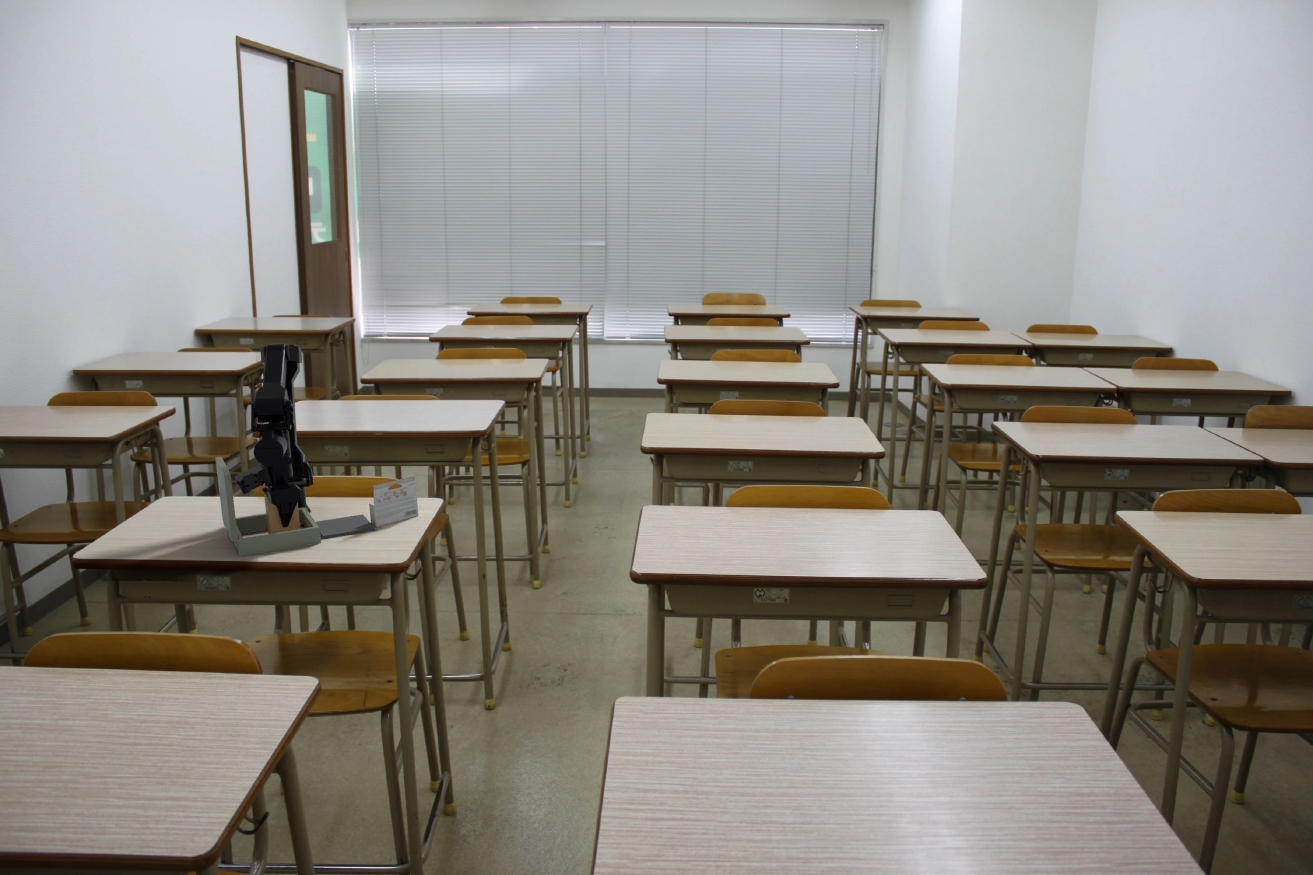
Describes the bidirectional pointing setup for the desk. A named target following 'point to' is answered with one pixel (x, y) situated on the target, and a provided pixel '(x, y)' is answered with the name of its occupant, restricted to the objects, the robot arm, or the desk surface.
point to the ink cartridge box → (394, 502)
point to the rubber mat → (344, 526)
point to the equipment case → (260, 523)
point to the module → (274, 519)
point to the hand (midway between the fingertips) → (283, 523)
